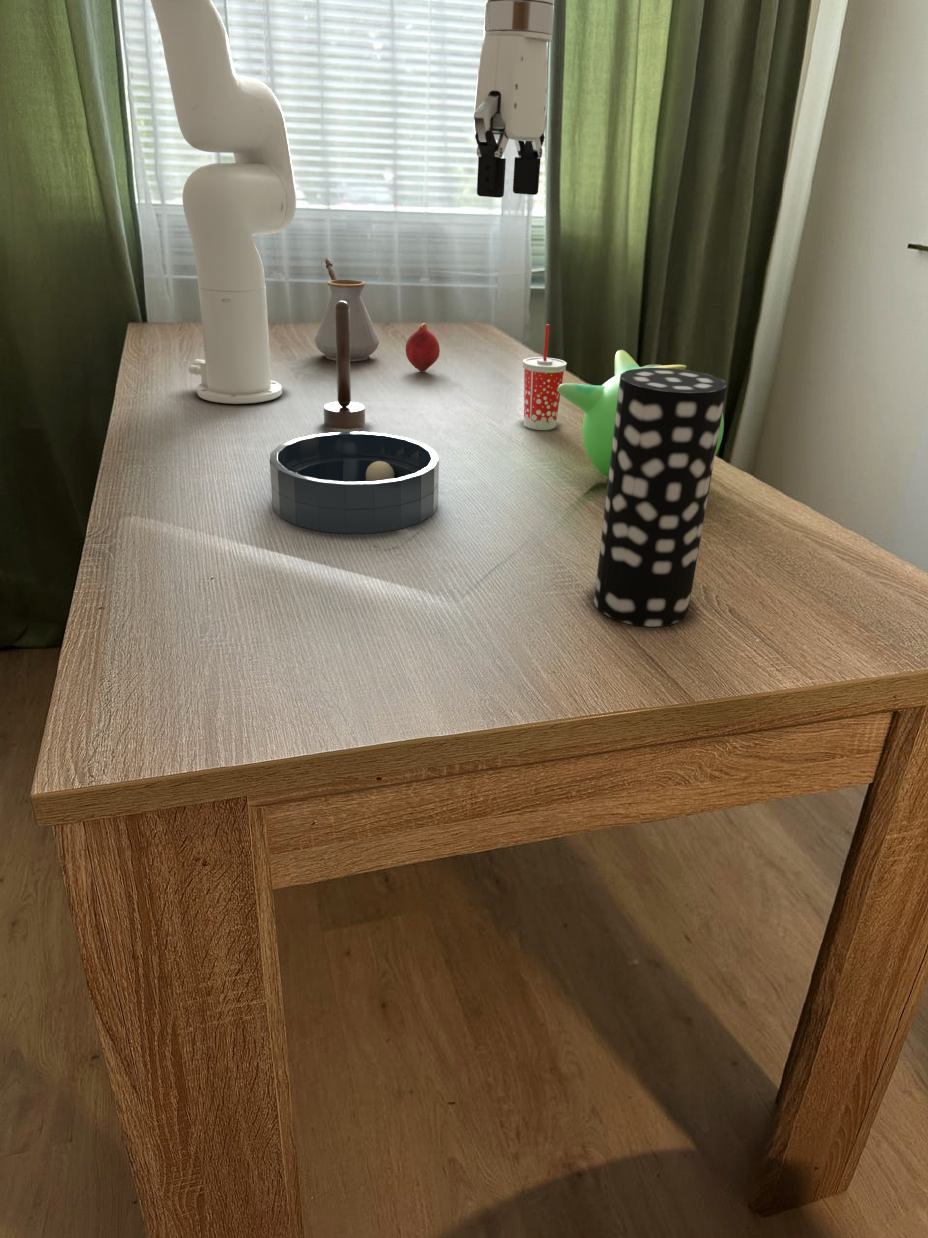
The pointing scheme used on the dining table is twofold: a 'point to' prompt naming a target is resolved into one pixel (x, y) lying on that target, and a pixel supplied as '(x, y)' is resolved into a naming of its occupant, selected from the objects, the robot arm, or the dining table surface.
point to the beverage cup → (542, 389)
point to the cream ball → (379, 472)
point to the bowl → (353, 482)
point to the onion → (422, 348)
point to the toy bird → (606, 410)
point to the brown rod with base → (343, 379)
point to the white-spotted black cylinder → (657, 493)
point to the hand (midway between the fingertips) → (508, 195)
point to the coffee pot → (360, 322)
